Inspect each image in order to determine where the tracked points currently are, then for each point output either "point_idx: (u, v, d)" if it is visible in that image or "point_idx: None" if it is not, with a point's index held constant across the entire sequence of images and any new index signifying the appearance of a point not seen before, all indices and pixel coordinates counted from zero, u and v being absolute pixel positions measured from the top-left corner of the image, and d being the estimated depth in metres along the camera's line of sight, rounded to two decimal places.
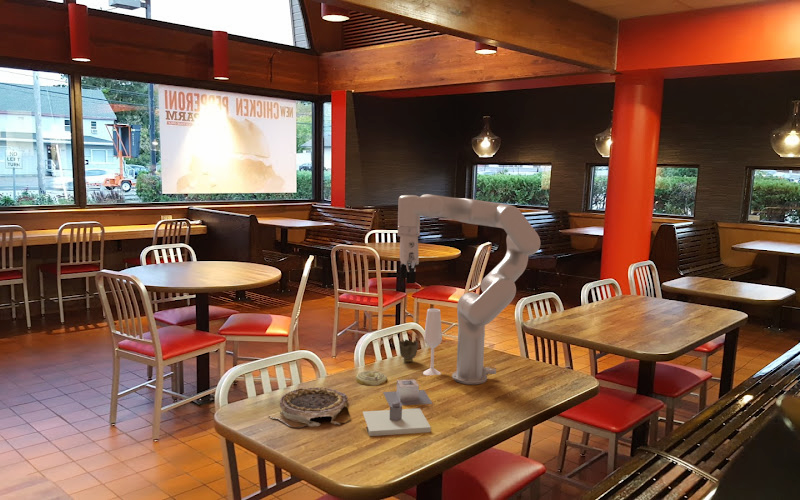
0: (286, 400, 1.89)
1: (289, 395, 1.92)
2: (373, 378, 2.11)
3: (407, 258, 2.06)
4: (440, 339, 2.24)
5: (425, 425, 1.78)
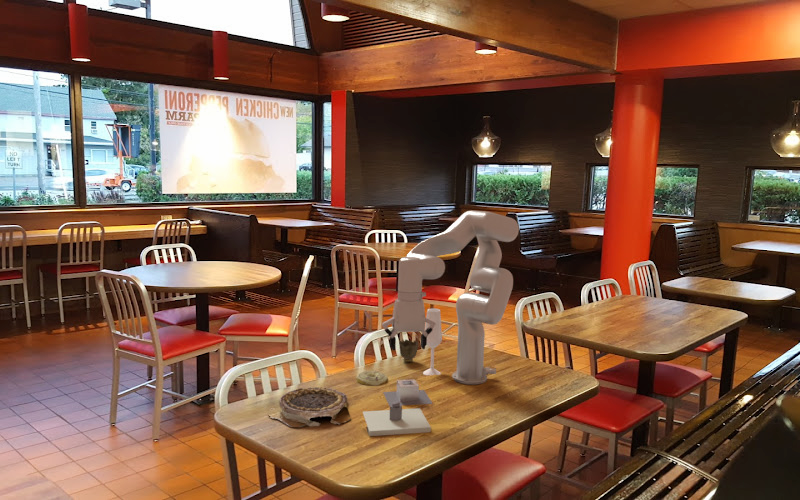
0: (286, 400, 1.89)
1: (289, 395, 1.93)
2: (373, 378, 2.11)
3: None
4: (440, 339, 2.24)
5: (425, 425, 1.78)
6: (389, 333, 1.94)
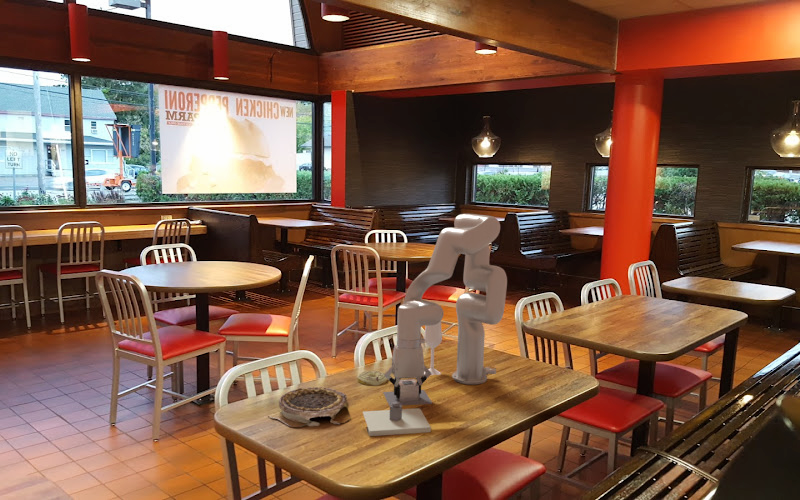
0: (285, 400, 1.89)
1: (288, 395, 1.93)
2: (374, 378, 2.11)
3: (424, 369, 1.98)
4: (440, 339, 2.24)
5: (425, 425, 1.78)
6: (393, 382, 1.97)
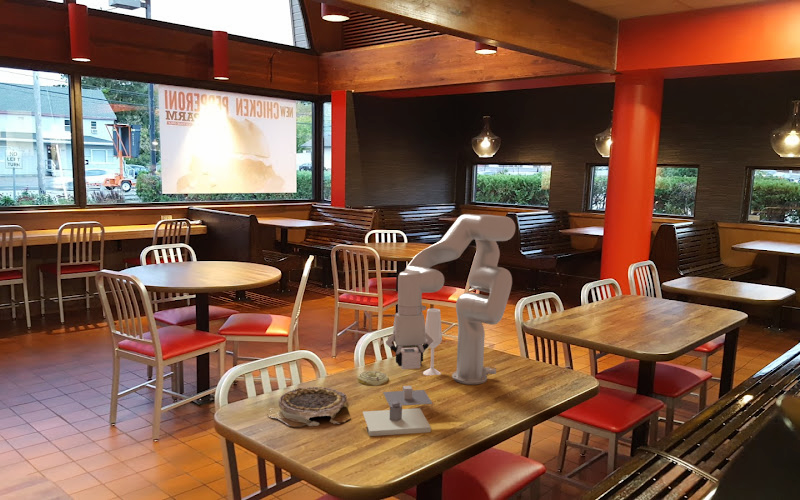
0: (285, 400, 1.89)
1: (288, 395, 1.93)
2: (374, 378, 2.11)
3: (425, 336, 1.96)
4: (440, 339, 2.24)
5: (425, 425, 1.78)
6: (395, 350, 1.95)
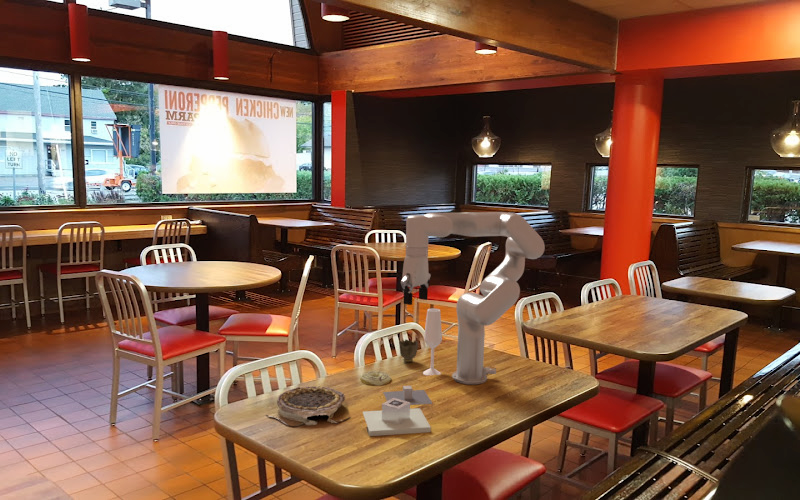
0: (283, 399, 1.90)
1: (286, 394, 1.93)
2: (377, 378, 2.11)
3: None
4: (440, 339, 2.24)
5: (425, 425, 1.78)
6: (407, 289, 2.02)
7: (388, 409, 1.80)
